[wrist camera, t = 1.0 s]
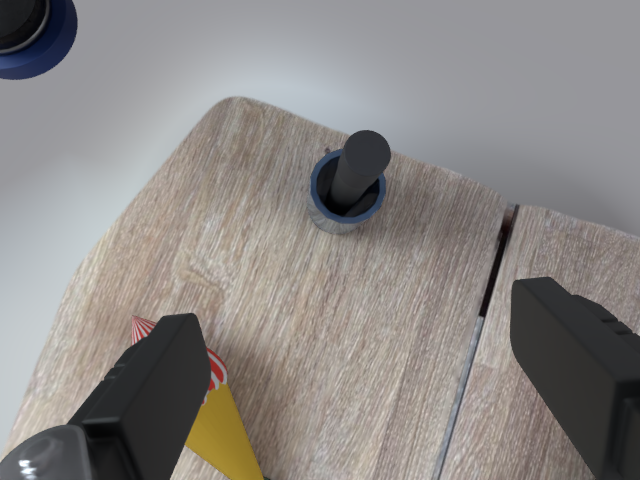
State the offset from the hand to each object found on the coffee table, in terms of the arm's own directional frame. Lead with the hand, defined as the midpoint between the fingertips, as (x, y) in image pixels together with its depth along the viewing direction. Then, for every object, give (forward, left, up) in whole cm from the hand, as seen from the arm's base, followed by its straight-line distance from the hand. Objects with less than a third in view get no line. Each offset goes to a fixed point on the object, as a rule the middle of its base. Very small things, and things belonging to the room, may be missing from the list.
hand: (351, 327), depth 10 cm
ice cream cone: (-4, -12, -25) cm, 28 cm away
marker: (-1, +8, -24) cm, 26 cm away
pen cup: (-1, +8, -25) cm, 26 cm away
